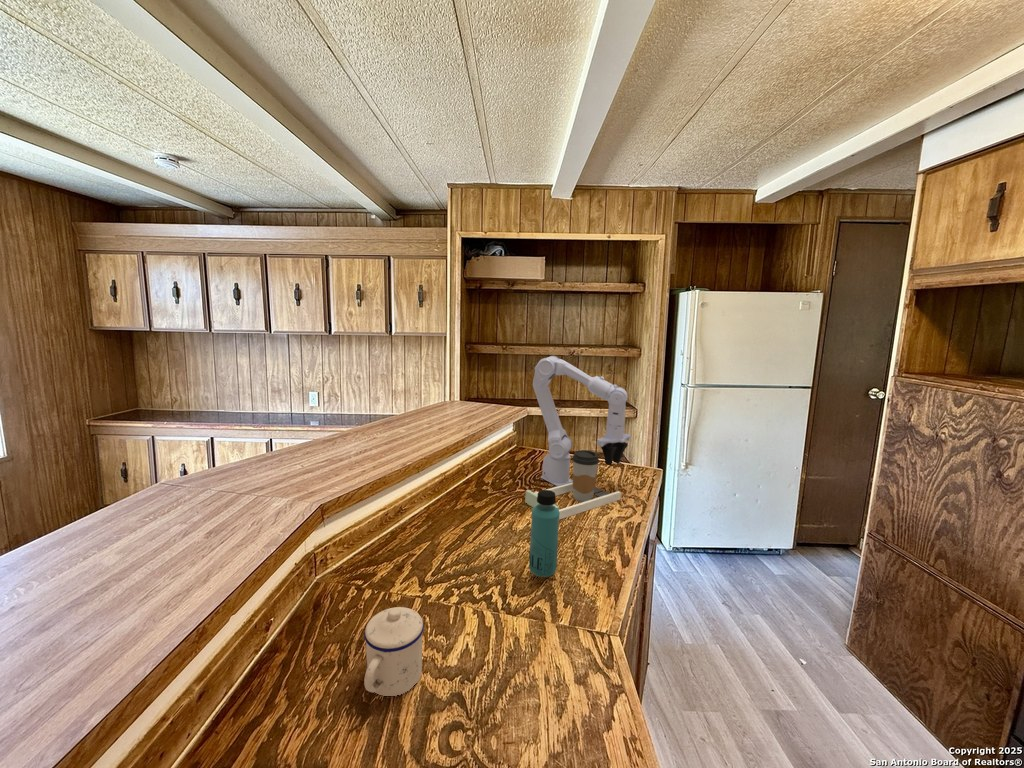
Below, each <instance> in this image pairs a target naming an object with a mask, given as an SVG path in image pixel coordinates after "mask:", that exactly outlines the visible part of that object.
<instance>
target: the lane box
mask: <svg viewBox="0 0 1024 768" xmlns="http://www.w3.org/2000/svg"><path fill="white" fill-rule="evenodd" d="M545 490H550V491H553V492H554V493H555V497H557V496H559V495H563V494H567V493H570V492H573V482H572V483H569V484H565V485H561V486H554V487H550V488H547V489H545ZM538 492H539V491H535V492H534V493H535V494H537V495H538ZM621 495H622V492H621V491H620V490H618V491H614V492H611V493H610V494H608V495H605V496H601V497H595V498H593V499H592V500H589V501H585V502H579V503H576V504H573V505H571V506H570V505H569V506H567V507H564V508H561V509H560V508H559V512H560V515H559V521H560V520H562V519H566V518H569V517H571V516H575V515H578V514H581V513H583V512H587V511H590V510H593V509H596V508H598V507H601V506H605V505H608V504H611V503H613V502H617V501H621V498H622V497H621Z"/></svg>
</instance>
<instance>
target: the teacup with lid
mask: <svg viewBox="0 0 1024 768" xmlns="http://www.w3.org/2000/svg"><path fill="white" fill-rule="evenodd" d="M424 624H425V623H424V620H423V619H422V616H420V614H419V613H418V612H417V611H416V610H413V609H411V608H410V607H409V608H408V607H403V606H399V607H398V606H397V607H395V606H394V607H391V608H386V609H384V610H382V611H380V612H378V613H376V614H375V615H374V616H372V618H371V619H370V620H368V623H367V624H366V627H365V629H364V640H365V646H366V647H365V648H366V649H365V650H366V651H365V652H366V653H365V656H366V658H365V660H366V661H365V662H366V664H365V665H366V671H365V675H364V679H363V680H364V681H363V682H364V684H363V685H364V688H365V689H366V691H368V692H369V693H374V692H375V693H377V694H379V695H383V696H395V697H398V696H397V695H399V696H402V695H404V694H406V693H407V691H408V692H409V691H411V690H412V689H413V688H414V687H415V686H416V685H417V684H418V682H419V681H420V679H421V677H422V674H423V632H424V630H425V629H424V627H425V625H424ZM416 683H417V684H416ZM415 684H416V685H415ZM414 685H415V686H414ZM413 686H414V687H413ZM412 687H413V688H412ZM411 688H412V689H411ZM410 689H411V690H410ZM405 692H406V693H405ZM375 693H374V694H375ZM403 693H404V694H403ZM377 694H376V695H377ZM401 694H402V695H401ZM379 695H378V696H379ZM383 696H382V697H383Z"/></svg>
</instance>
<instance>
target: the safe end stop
mask: <svg viewBox="0 0 1024 768" xmlns="http://www.w3.org/2000/svg"><path fill="white" fill-rule="evenodd" d="M524 496H525V497H524V498H525V500H524V503H525V504H526V503H527V504H526V505H528V506H530V507H531V508H532V509H533V508H534V507H535V506H536V505H538V504H539V503H538V502H537V496H538V495H537V494H535V492H533V491H531V490H530V489H527V490H525V495H524ZM553 505H554V506H555V507H556V508H557V509H558V510H560V507H559V505H556V503H555V504H553Z"/></svg>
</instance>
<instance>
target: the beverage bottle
mask: <svg viewBox="0 0 1024 768" xmlns="http://www.w3.org/2000/svg"><path fill="white" fill-rule="evenodd" d="M537 492H538V496H537V502H538V503H539V504H538V505H536V506H535V507H534V508H533V507H532V509H531V522H530V523H531V524H530V529H529V531H530V532H529V533H530V534H529V536H530V539H529V540H530V541H529V553H528V568H529V571H530V572H531V573H532V574H533V575H535V576H536V577H537V576H538V577H542V578H549V577H551V576H553V575H554V574H555V573H556V572H557V565H558V557H559V556H558V548H559V545H558V543H559V541H558V540H559V524H560V520H559V515H560V512H559V510H560V509H559V510H558V509H557V508H556V507H555V506H554V505H553V504H555V505H556V502H557V499H556V496H555V493H554V492H553V491H550V490H546V489H541V490H539V491H537Z"/></svg>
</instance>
